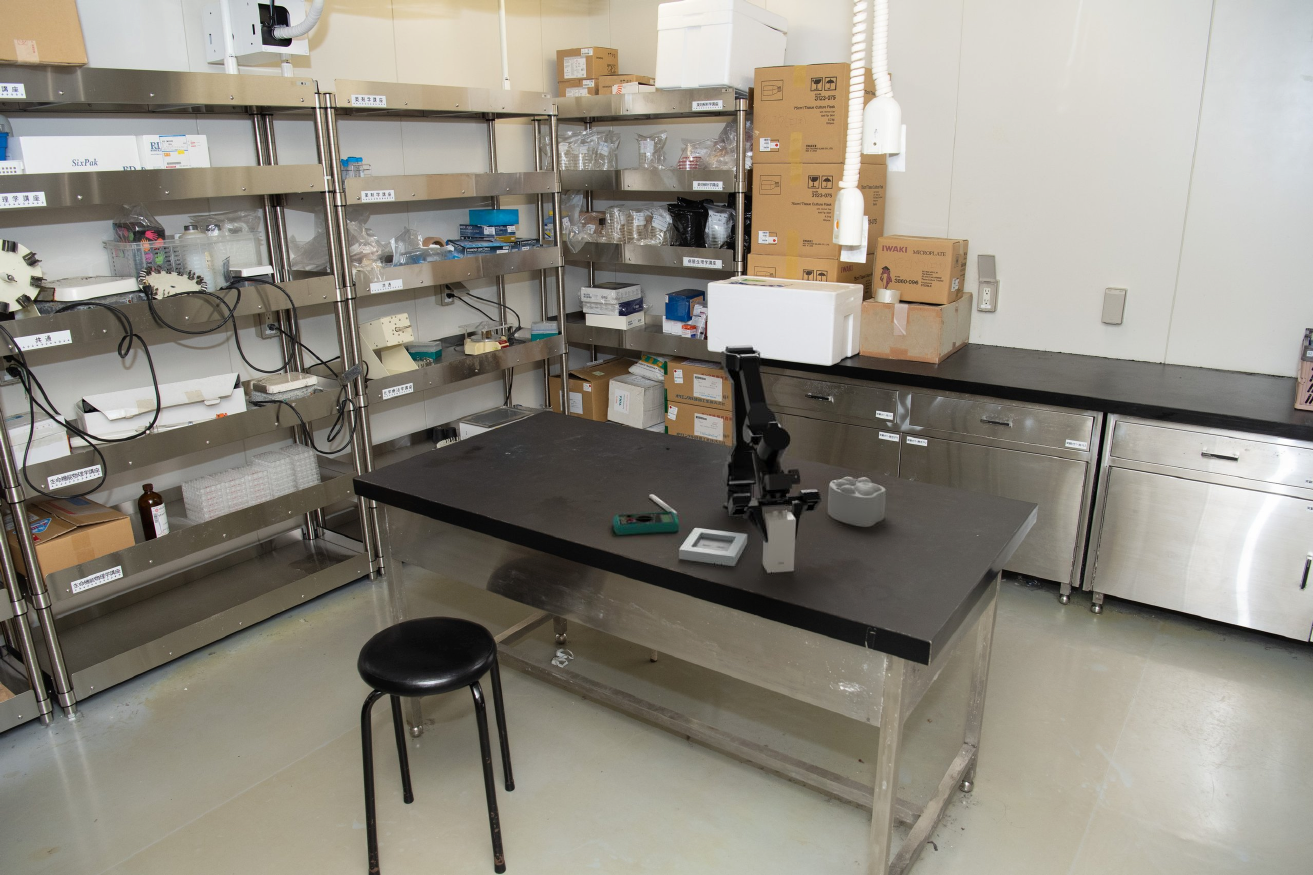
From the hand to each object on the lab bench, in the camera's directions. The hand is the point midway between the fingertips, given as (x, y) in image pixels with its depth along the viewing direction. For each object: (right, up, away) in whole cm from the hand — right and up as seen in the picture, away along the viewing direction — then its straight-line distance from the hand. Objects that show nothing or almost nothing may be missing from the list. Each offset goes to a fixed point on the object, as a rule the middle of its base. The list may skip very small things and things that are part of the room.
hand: (780, 541), depth 176 cm
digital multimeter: (-28, 0, +24) cm, 37 cm away
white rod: (-24, +4, +36) cm, 44 cm away
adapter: (0, -6, +3) cm, 7 cm away
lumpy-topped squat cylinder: (+22, +2, +30) cm, 37 cm away
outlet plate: (-13, -3, +11) cm, 18 cm away
